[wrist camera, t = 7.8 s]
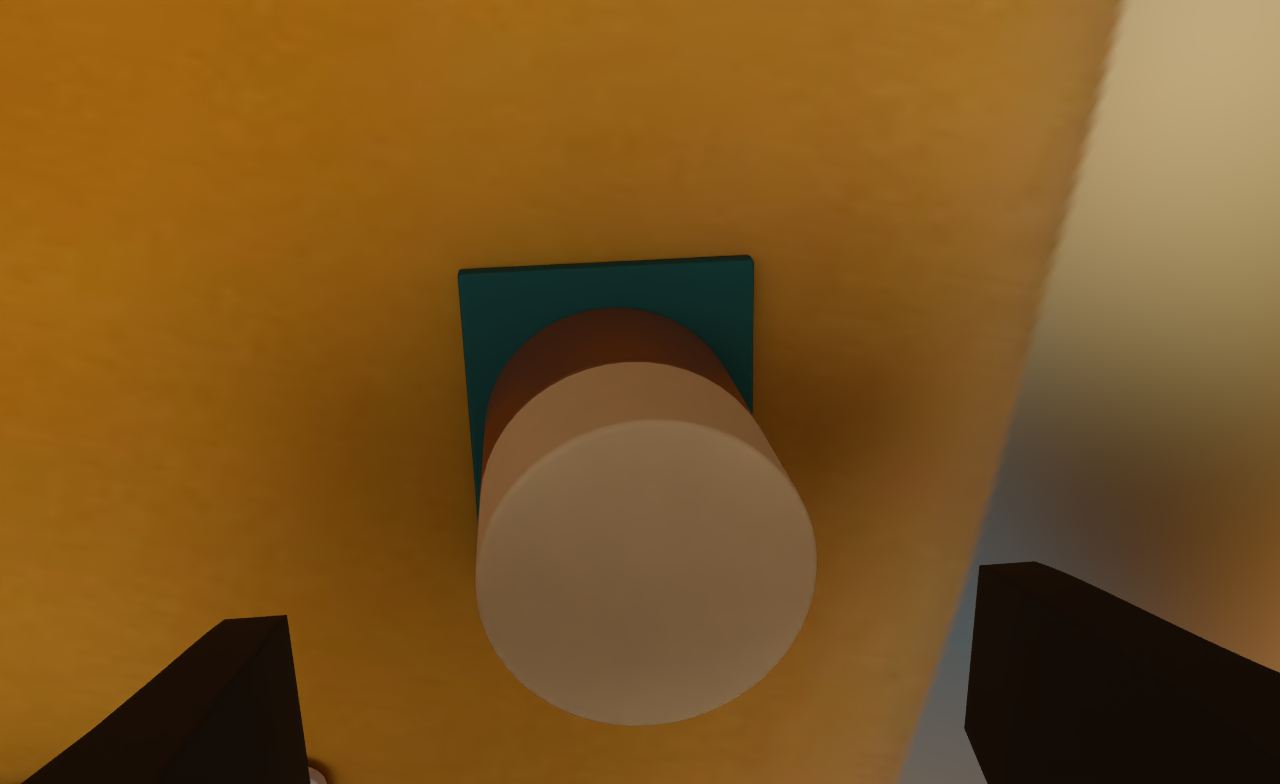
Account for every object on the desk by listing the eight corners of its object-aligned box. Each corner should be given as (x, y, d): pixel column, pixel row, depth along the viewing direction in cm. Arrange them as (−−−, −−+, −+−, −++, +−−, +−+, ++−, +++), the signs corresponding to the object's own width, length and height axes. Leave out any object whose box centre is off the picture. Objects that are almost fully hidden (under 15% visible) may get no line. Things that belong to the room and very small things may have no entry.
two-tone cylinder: (738, 535, 21) (814, 713, 15) (493, 553, 20) (487, 743, 15) (739, 299, 19) (824, 410, 14) (475, 313, 19) (461, 433, 13)
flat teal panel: (747, 562, 21) (751, 573, 21) (483, 583, 21) (483, 593, 20) (749, 254, 19) (754, 259, 19) (458, 268, 19) (457, 274, 18)
